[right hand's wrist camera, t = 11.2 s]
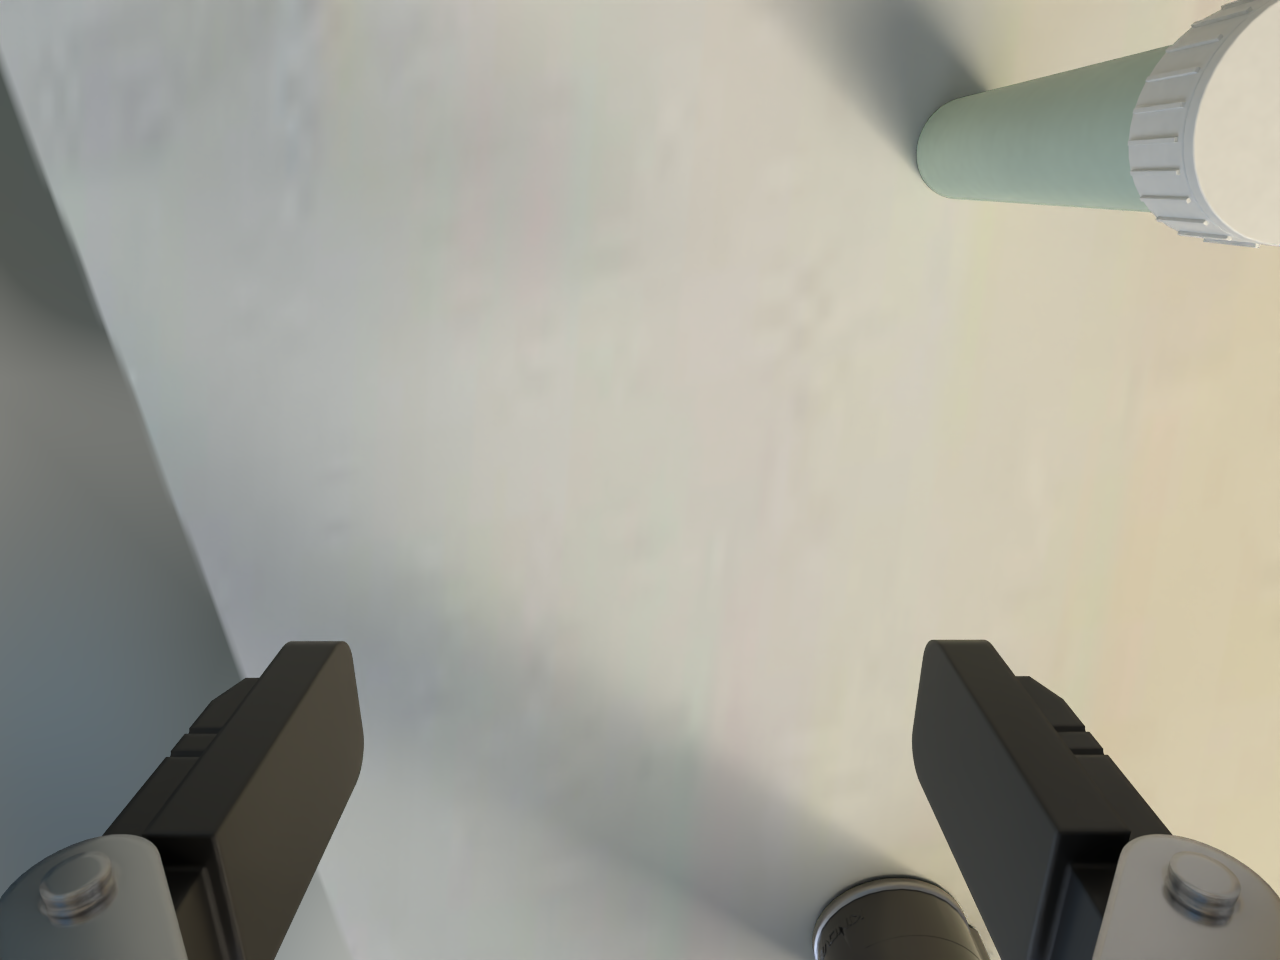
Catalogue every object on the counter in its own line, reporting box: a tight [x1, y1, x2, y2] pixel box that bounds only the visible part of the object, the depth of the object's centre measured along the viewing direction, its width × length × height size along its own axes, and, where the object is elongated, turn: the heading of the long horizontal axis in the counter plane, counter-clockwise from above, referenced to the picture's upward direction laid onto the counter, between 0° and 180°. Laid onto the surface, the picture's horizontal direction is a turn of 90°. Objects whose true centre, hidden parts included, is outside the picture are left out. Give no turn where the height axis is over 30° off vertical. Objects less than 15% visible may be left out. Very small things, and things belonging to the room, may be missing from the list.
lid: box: [1128, 0, 1280, 248], centre depth 18 cm, size 5×5×2 cm
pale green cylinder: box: [917, 45, 1172, 212], centre depth 26 cm, size 4×4×19 cm
